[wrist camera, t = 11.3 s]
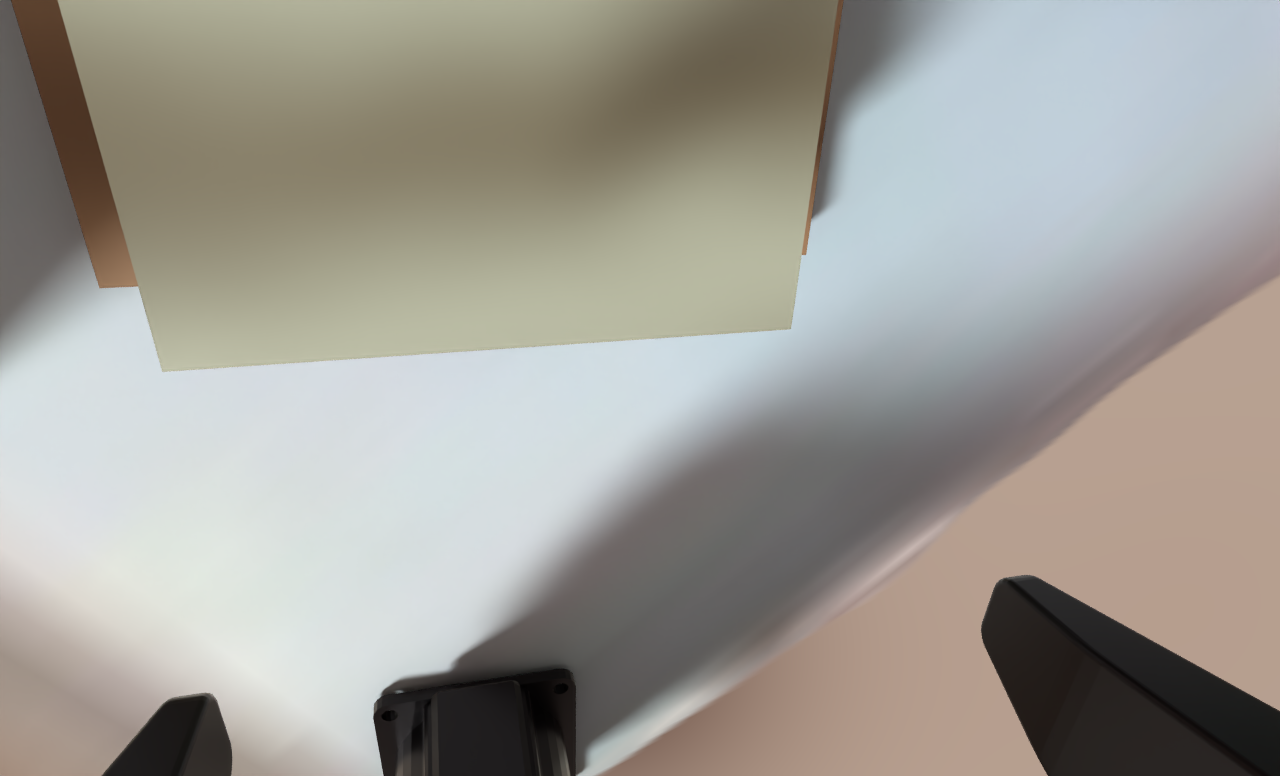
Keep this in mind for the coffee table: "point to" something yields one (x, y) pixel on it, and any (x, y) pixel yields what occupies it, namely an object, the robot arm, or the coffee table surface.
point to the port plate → (437, 167)
